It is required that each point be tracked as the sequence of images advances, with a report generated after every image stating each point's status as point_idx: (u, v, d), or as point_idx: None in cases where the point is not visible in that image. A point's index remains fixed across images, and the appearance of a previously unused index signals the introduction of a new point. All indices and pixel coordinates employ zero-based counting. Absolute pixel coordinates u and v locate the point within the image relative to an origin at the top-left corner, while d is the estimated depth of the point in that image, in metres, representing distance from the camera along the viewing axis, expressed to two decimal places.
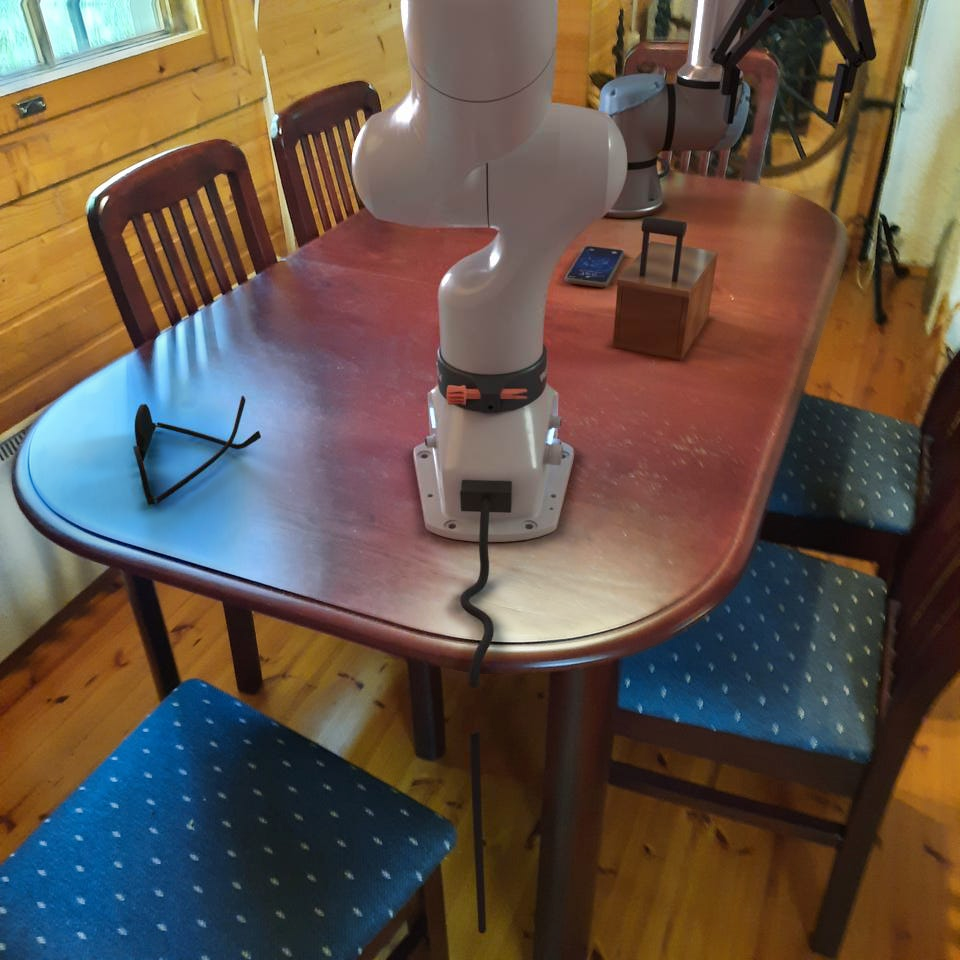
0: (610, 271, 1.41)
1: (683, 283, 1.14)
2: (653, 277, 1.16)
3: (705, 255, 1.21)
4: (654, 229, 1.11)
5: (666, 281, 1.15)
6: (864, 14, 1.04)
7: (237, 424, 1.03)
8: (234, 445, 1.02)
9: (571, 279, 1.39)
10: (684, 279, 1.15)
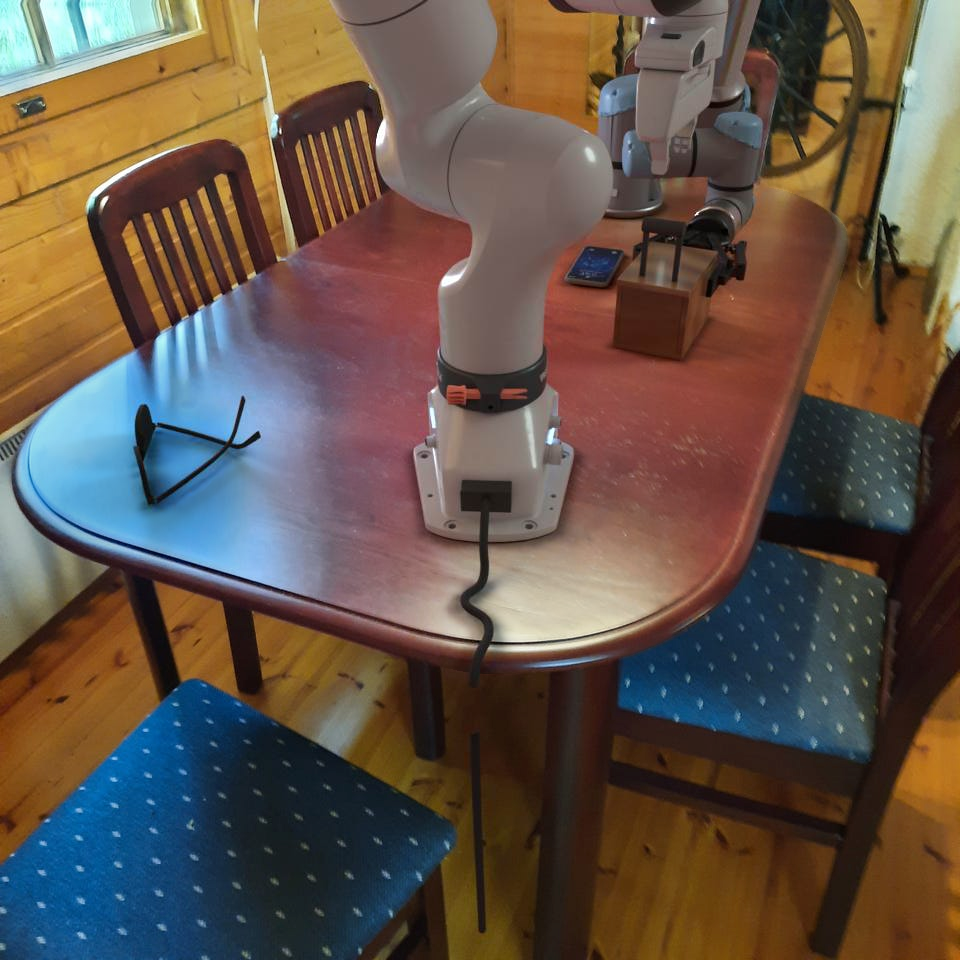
0: (610, 271, 1.41)
1: (683, 283, 1.14)
2: (653, 277, 1.16)
3: (705, 255, 1.21)
4: (654, 229, 1.11)
5: (666, 281, 1.15)
6: None
7: (237, 424, 1.03)
8: (234, 445, 1.02)
9: (571, 279, 1.39)
10: (684, 279, 1.15)
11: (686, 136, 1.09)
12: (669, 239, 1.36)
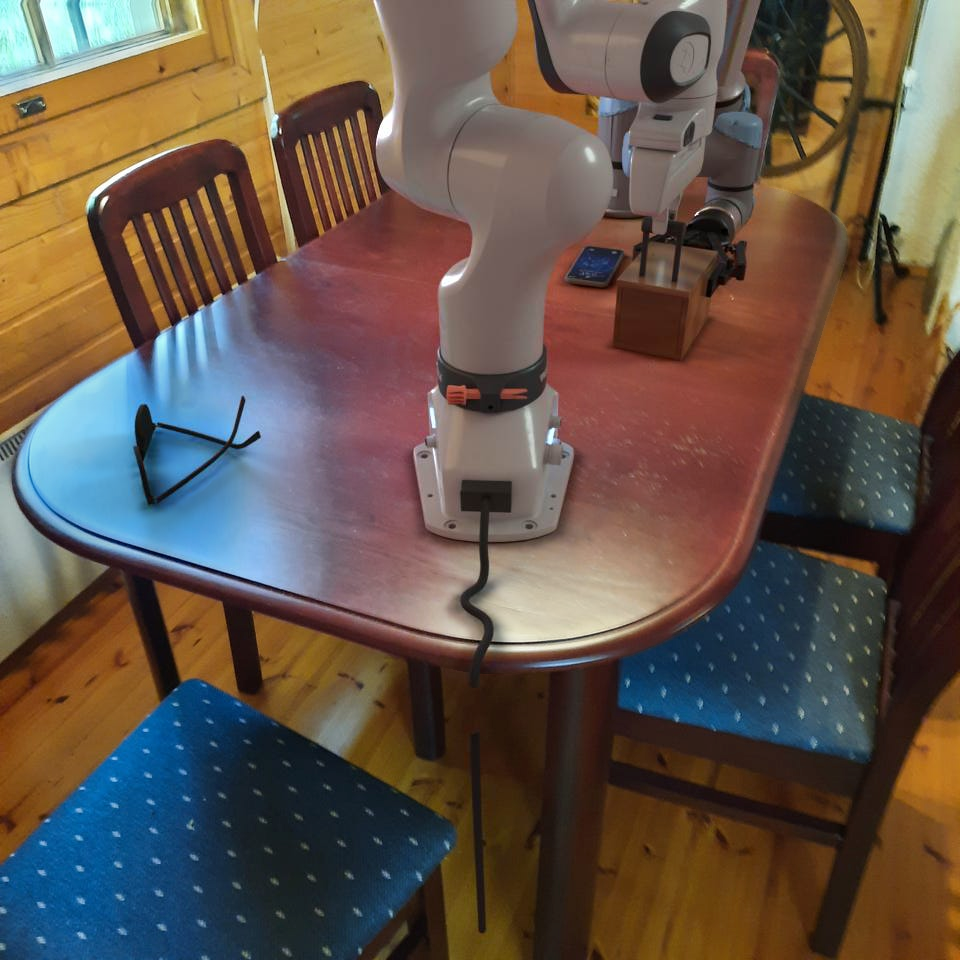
0: (610, 271, 1.41)
1: (683, 283, 1.14)
2: (653, 277, 1.16)
3: (705, 255, 1.21)
4: None
5: (666, 281, 1.15)
6: None
7: (237, 424, 1.03)
8: (234, 445, 1.02)
9: (571, 279, 1.39)
10: (684, 279, 1.15)
11: (672, 209, 1.11)
12: (669, 239, 1.36)
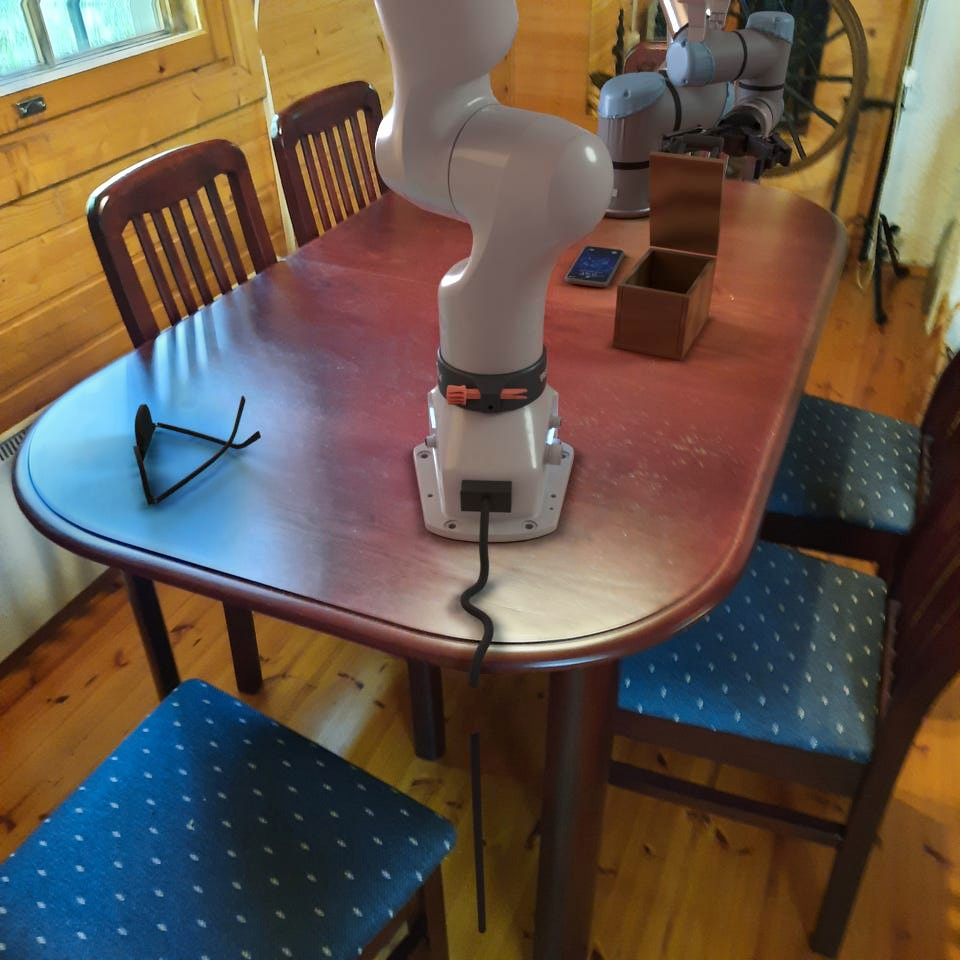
0: (610, 271, 1.41)
1: None
2: None
3: None
4: (695, 136, 1.18)
5: None
6: None
7: (237, 424, 1.03)
8: (234, 445, 1.02)
9: (571, 279, 1.39)
10: None
11: (721, 12, 1.08)
12: None
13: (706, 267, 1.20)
